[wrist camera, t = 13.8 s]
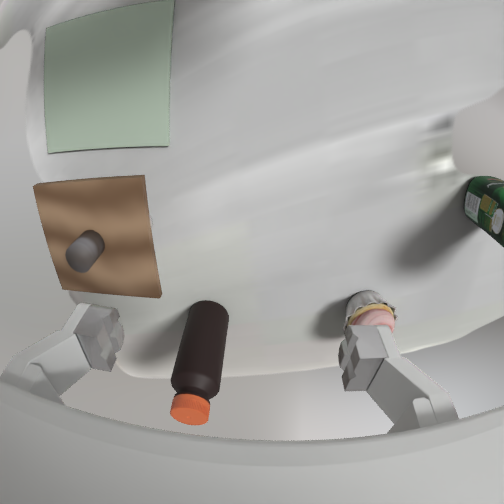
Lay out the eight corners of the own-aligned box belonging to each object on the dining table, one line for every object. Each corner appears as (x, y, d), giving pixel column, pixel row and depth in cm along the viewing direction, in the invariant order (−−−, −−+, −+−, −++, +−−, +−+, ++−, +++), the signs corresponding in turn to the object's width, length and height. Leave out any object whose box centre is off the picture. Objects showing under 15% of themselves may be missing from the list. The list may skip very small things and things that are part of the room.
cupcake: (338, 328, 52) (348, 372, 44) (336, 287, 48) (349, 332, 39) (387, 319, 51) (403, 360, 42) (390, 277, 46) (412, 318, 38)
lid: (37, 183, 32) (13, 198, 27) (144, 174, 31) (126, 190, 27) (65, 285, 40) (50, 306, 35) (162, 293, 39) (151, 318, 35)
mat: (48, 28, 27) (46, 28, 27) (174, 0, 27) (173, -1, 27) (49, 152, 37) (48, 153, 37) (169, 145, 37) (168, 145, 37)
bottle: (187, 324, 53) (162, 422, 36) (191, 295, 49) (162, 398, 32) (225, 332, 53) (212, 432, 36) (232, 304, 50) (219, 410, 33)
